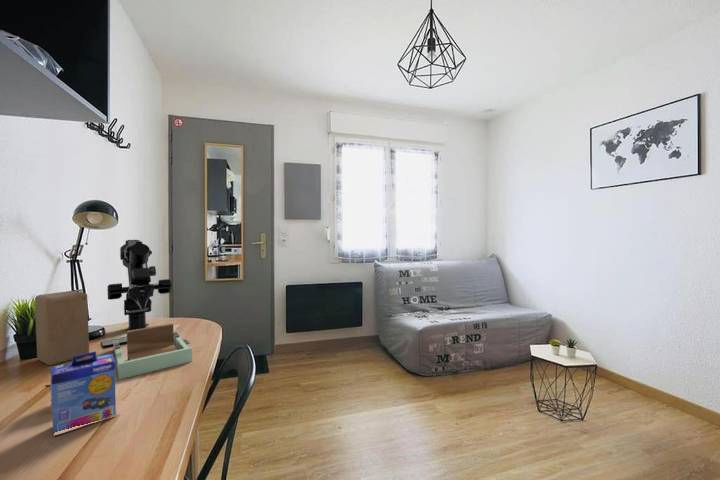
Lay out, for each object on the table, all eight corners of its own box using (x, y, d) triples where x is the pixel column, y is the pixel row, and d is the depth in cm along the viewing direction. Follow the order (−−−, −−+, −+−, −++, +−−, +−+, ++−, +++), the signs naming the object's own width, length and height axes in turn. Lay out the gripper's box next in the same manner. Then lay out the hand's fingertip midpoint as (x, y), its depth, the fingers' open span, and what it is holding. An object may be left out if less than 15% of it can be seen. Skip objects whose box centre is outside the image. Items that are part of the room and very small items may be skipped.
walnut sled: (127, 360, 97) (126, 331, 96) (172, 350, 104) (172, 323, 104) (131, 373, 88) (130, 341, 87) (180, 361, 95) (179, 331, 95)
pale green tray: (102, 351, 103) (101, 339, 103) (182, 336, 118) (182, 325, 118) (104, 382, 82) (104, 367, 82) (203, 358, 97) (202, 345, 97)
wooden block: (90, 355, 101) (88, 292, 100) (48, 367, 92) (45, 298, 91) (77, 349, 106) (75, 289, 105) (36, 360, 97) (33, 295, 97)
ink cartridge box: (52, 439, 60) (49, 362, 59) (52, 426, 64) (49, 354, 63) (118, 417, 67) (115, 348, 66) (114, 406, 71) (112, 342, 70)
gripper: (106, 260, 107) (108, 299, 99) (170, 257, 119) (176, 292, 111) (106, 280, 113) (108, 318, 105) (167, 275, 125) (173, 309, 117)
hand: (143, 308), depth 110 cm, fingers closed
